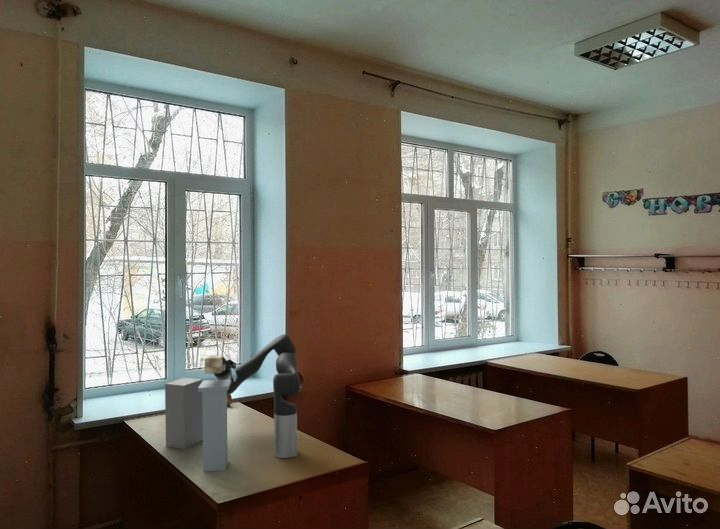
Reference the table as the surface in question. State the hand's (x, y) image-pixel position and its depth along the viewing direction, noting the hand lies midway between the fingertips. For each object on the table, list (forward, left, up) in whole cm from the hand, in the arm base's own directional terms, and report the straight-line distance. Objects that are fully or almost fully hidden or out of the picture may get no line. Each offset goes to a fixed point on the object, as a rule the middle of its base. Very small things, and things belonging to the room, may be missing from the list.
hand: (217, 359), depth 220 cm
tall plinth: (-1, +16, -39) cm, 42 cm away
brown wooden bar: (0, +3, -3) cm, 4 cm away
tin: (+7, -71, -39) cm, 82 cm away
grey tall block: (+16, -12, -39) cm, 43 cm away
